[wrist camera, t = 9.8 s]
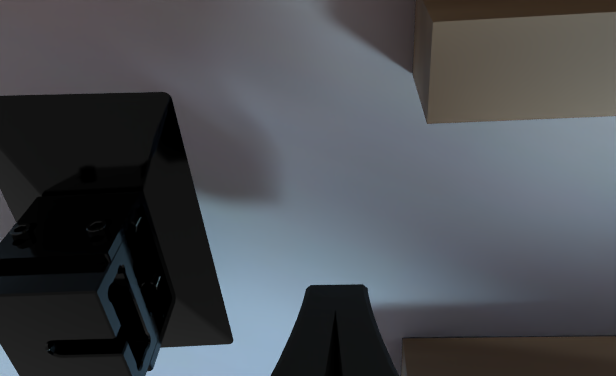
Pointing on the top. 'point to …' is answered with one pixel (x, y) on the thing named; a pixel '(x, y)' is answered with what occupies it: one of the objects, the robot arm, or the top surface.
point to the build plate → (101, 237)
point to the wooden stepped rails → (513, 106)
